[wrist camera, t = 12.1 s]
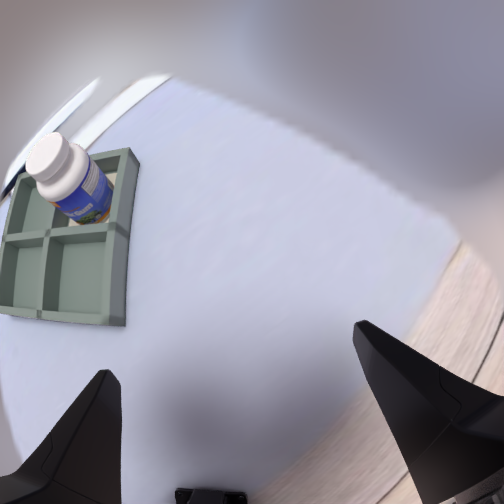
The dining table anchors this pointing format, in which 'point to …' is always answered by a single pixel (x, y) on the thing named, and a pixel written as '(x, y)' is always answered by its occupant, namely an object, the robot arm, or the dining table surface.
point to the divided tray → (68, 252)
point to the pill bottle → (70, 179)
